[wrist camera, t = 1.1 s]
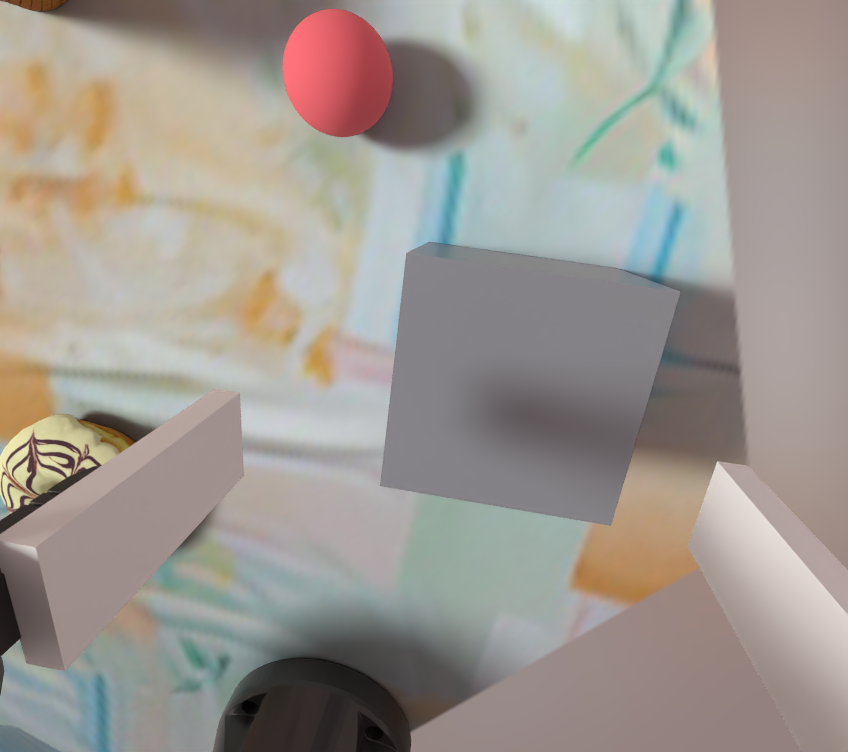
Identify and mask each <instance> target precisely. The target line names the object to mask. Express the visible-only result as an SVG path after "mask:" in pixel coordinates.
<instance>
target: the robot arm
mask: <svg viewBox="0 0 848 752" xmlns="http://www.w3.org/2000/svg"><path fill="white" fill-rule="evenodd" d="M243 476H244V472H243V451H242V430H241V409H240V393H236V392H229V391H222V390H215V389H214V390H213V391H211V392H210V393H208V394H207V395H205V396H204V397H203V398H201V399H200V400H198V401H197V402H195V403H194V404H192V405H191V406H189V407H188V408H186V409H185V410H183V411H182V412H180V413H179V414H177V415H176V416H174V417H173V418H171V419H170V420H168V421H167V422H166V423H164V424H163V425H161V426H160V427H158V428H157V429H155V430H154V431H152V432H151V433H149V434H148V435H146V436H145V437H143V438H142V439H140V440H139V441H137V442H136V443H134V444H133V445H131V446H130V447H128V448H127V449H126V450H124V451H123V452H121V453H120V454H118V455H117V456H115V457H114V458H112V459H111V460H109V461H108V462H106V463H105V464H103V465H102V466H100V467H99V466H93V467H91V468H88V469H86V470H83V471H81V472H78V473H76V474H73V475H71V476H68V477H67V478H65V479H64V480H62V481H61V482H59V483H58V484H56V485H55V486H53V487H51V488H50V489H48V490H47V493H42V494H41V495H39V496H38V497H36V498H35V499H33V500H31V501H30V503H29V505H24V506H22V507H21V508H19V509H18V510H16V511H14V512H13V513H11V514H10V515H8V516H7V517H5V518H4V519H2V520H1V521H0V694H1V688H2V682H3V676H4V666H3V660H2V657H1V656H2V655H3V654H4V653H5V652H6V651H7V650H8V649H9V648H10V647H11V646H12V645H13V644H15V643H16V642H17V641H18V640H19V639H20V642H21V646H22V649H23V653H24V656H25V660H26V663H28V664H33V665H38V666H42V667H47V668H52V669H57V670H62V671H66V670H67V668H68V667H69V666H70V665H71V664H72V663H73V662H74V661H75V660H76V659H77V658H78V656H79V655H80V654H81V653H82V652H83V651H84V650H85V649H86V648H87V647H88V645H89V644H90V643H91V642H92V641H93V640H94V639H95V638H96V637H97V636H98V635H99V633H100V632H101V631H102V630H103V629H104V628H105V627H106V626H107V625H108V624H109V622H110V621H111V620H112V619H113V618H114V617H115V616H116V615H117V614H118V613H119V612H120V610H121V609H122V608H123V607H124V606H125V605H126V604H127V603H128V602H129V601H130V599H131V598H132V597H133V596H134V595H135V594H136V593H137V592H138V591H139V590H140V588H141V587H142V586H143V585H144V584H145V583H146V582H147V581H148V580H149V579H150V578H151V576H152V575H153V574H154V573H155V572H156V571H157V570H158V569H159V568H160V567H161V565H162V564H163V563H164V562H165V561H166V560H167V559H168V558H169V557H170V556H171V555H172V553H173V552H174V551H175V550H176V549H177V548H178V547H179V546H180V545H181V544H182V542H183V541H184V540H185V539H186V538H187V537H188V536H189V535H190V534H191V533H192V532H193V530H194V529H195V528H196V527H197V526H198V525H199V524H200V523H201V522H202V521H203V519H204V518H205V517H206V516H207V515H208V514H209V513H210V512H211V511H212V510H213V508H214V507H215V506H216V505H217V504H218V503H219V502H220V501H221V500H222V499H223V498H224V496H225V495H226V494H227V493H228V492H229V491H230V490H231V489H232V488H233V487H234V485H235V484H236V483H237V482H238V481H239V480H240V479H241V478H242V477H243ZM688 548H689V550H690V552H691V554H692V556H693V557H694V559H695V561H696V563H697V565H698V566H699V568H700V570H701V572H702V574H703V575H704V577H705V579H706V581H707V583H708V584H709V586H710V588H711V590H712V592H713V593H714V595H715V597H716V599H717V601H718V602H719V604H720V606H721V608H722V610H723V611H724V613H725V615H726V617H727V619H728V620H729V622H730V624H731V626H732V627H733V629H734V631H735V633H736V635H737V637H738V638H739V640H740V642H741V644H742V646H743V647H744V649H745V651H746V653H747V655H748V656H749V658H750V660H751V662H752V664H753V665H754V667H755V669H756V671H757V673H758V674H759V676H760V678H761V680H762V682H763V683H764V685H765V687H766V689H767V691H768V692H769V694H770V696H771V698H772V700H773V702H774V703H775V705H776V707H777V709H778V710H779V712H780V714H781V716H782V718H783V719H784V721H785V723H786V725H787V727H788V729H789V730H790V732H791V734H792V736H793V738H794V739H795V741H796V743H797V745H798V747H799V748H800V750H801V752H848V570H847V569H846V568H845V567H844V566H843V565H842V564H841V563H840V562H839V561H838V560H837V558H836V557H835V556H834V555H833V554H832V553H831V552H830V551H829V550H828V549H827V548H826V547H825V546H824V545H823V544H822V543H821V542H820V541H819V540H818V539H817V537H815V535H814V534H813V533H812V532H811V531H810V530H809V529H808V528H807V527H806V526H805V525H804V524H803V523H802V522H801V521H800V520H799V519H798V517H796V515H795V514H794V513H793V512H792V511H791V510H790V509H789V508H788V507H787V506H786V505H785V504H784V503H783V502H782V501H781V500H780V499H779V498H778V496H777V495H776V494H775V493H774V492H773V491H772V490H771V489H770V488H769V487H768V486H767V485H766V484H765V483H764V482H763V481H762V480H761V479H760V478H759V477H758V476H757V475H756V473H755V472H754V471H753V470H752V469H751V468H750V467H749V466H747V465H740V464H733V463H726V462H719V461H717V464H716V467H715V469H714V472H713V475H712V478H711V481H710V484H709V487H708V489H707V492H706V495H705V498H704V501H703V504H702V507H701V509H700V512H699V515H698V518H697V521H696V524H695V527H694V530H693V532H692V535H691V538H690V541H689V544H688ZM410 747H411V735H410V729H409V726H408V723H407V720H406V718H405V716H404V714H403V712H402V711H401V709H400V707H399V706H398V705H397V703H396V702H395V701H394V699H393V698H392V697H391V696H390V695H389V694H388V693H387V692H386V691H385V690H384V689H383V688H381V687H380V686H379V685H378V684H376V683H375V682H373V681H372V680H370V679H369V678H367V677H366V676H364V675H362V674H360V673H358V672H356V671H354V670H352V669H349V668H347V667H344V666H341V665H338V664H335V663H331V662H327V661H322V660H315V659H286V660H280V661H276V662H272V663H269V664H266V665H264V666H261V667H259V668H257V669H256V670H254V671H252V672H251V673H249V674H248V675H247V676H246V677H245V678H244V679H243V680H242V681H241V682H240V683H239V684H238V686H237V687H236V689H235V691H234V693H233V695H232V697H231V699H230V700H229V702H228V704H227V706H226V708H225V710H224V712H223V714H222V716H221V719H220V722H219V725H218V729H217V733H216V739H215V744H214V749H213V752H410ZM0 752H60V751H58V750H57V749H55V748H53V747H51V746H50V745H48V744H46V743H44V742H43V741H41V740H39V739H37V738H36V737H34V736H32V735H30V734H29V733H27V732H25V731H23V730H22V729H20V728H17V727H14V726H10V725H0Z"/></svg>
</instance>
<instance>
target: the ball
mask: <svg viewBox="0 0 848 752" xmlns="http://www.w3.org/2000/svg"><path fill="white" fill-rule="evenodd" d="M283 77H284V83H285V87H286V91H287V94H288V96H289V98H290V100H291V102H292V104H293V106H294V108H295V109H296V111H297V112H298V113H299V115H300V116H301V117H302V118H303V119H304V120H305V121H306V122H307V123H308V124H309V125H311V126H312V127H314V128H315V129H317V130H318V131H320V132H322V133H325V134H328V135H331V136H336V137H349V136H354V135H358V134H360V133H363V132H365V131H366V130H368V129H370V128H371V127H372V126H373V125H375V124H376V122H377V121H378V120H379V119H380V118H381V116H382V115H383V114H384V112H385V110H386V108H387V106H388V103H389V101H390V97H391V93H392V87H393V70H392V64H391V60H390V57H389V53H388V51H387V48H386V46H385V44H384V42H383V40H382V39H381V37H380V36H379V34H378V33H377V32H376V31H375V29H374V28H373V27H372V26H371V25H370V24H369V23H368V22H366V21H365V20H364V19H362V18H361V17H359V16H357V15H355V14H353V13H351V12H348V11H345V10H340V9H326V10H321V11H318V12H315V13H313V14H311V15H309V16H308V17H306V18H305V19H303V20H302V21H301V22H300V23H299V24H298V25H297V27H296V28H295V29H294V30H293V32H292V34H291V35H290V37H289V39H288V42H287V44H286V47H285V51H284V56H283Z"/></svg>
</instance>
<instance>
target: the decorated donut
mask: <svg viewBox="0 0 848 752" xmlns="http://www.w3.org/2000/svg"><path fill="white" fill-rule="evenodd" d="M134 443H135V442H134V441H133V440H131V439H130V438H129V437H127V436H126V435H124V434H123V433H121V432H119V431H117V430H114V429H112V428H108V427H105V426H102V425H97V424H95V423H92V422H89V421H84V420H77V419H76V418H75V417H74V416H72V415H68V414H58V415H53V416H49V417H47V418H44V419H43V420H40V421H38V422H36V423H35V424H33V425H31V426H29V427H26V428H24V429H23V430H22V431H21V432H20V433H19V434H18V435H16V436H15V437H14V438H13V439H12V440H11V441H10V442H9V444H8V445H7V446H6V447H5V448H4V450H3V452H2V454H1V456H0V495H1V497H2V499H3V501H4V503H5V505H6V507H7V509H8V511H9V512H10V514H11V513H13V512H14V511H16V510H18V509H19V508H21V507H22V506H24V505H29V503H30V501H31V500H33V499H35V498H36V497H38V496H39V495H41V494H42V493H47V490H48V489H50V488H51V487H53V486H55V485H56V484H58V483H59V482H61V481H62V480H64V479H65V478H67V477H68V476H71V475H73V474H76V473H78V472H81V471H83V470H86V469H88V468H91V467H93V466H99V467H100V466H102V465H103V464H105V463H106V462H108V461H109V460H111V459H112V458H114V457H115V456H117V455H118V454H120V453H121V452H123V451H124V450H126V449H127V448H128V447H130V446H131V445H133V444H134Z"/></svg>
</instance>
